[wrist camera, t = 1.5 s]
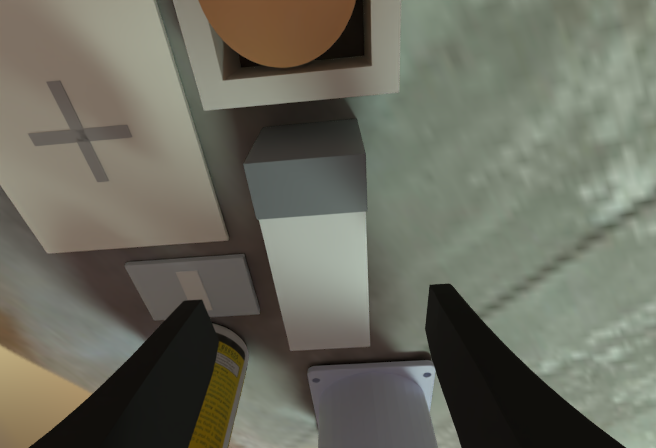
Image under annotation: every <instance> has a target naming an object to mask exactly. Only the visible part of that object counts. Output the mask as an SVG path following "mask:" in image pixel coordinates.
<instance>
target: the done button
mask: <svg viewBox="0 0 656 448" xmlns="http://www.w3.org/2000/svg"><path fill="white" fill-rule="evenodd" d="M198 1H199V3H200V5H201V8H202V10H203V12H204V14H205V16H206V18H207V19H208V21H209V23H210V24H211V26H212V27H213V29H214V30H215V31H216V33H217V34H218V35H219V36H220V37H221V39H222V40H223V41H224V42H225V43H226V44H227V45H229V46H230V47H231V48H232V49H233V50H234V51H236V52H237V53H239V54H240V55H241V56H243V57H245V58H247V59H249V60H251V61H253V62H255V63H258V64H261V65H265V66H269V67H277V68H287V67H294V66H299V65H302V64H305V63H308V62H310V61H312V60H314V59H316V58H317V57H319V56H320V55H322V54H323V53H324V52H326V51H327V50H328V49H329V48H330V47H331V46H332V45H333V44H334V43H335V42H336V40H337V39H338V38H339V37H340V35H341V34H342V32H343V31H344V29H345V27H346V25H347V23H348V21H349V19H350V17H351V14H352V12H353V9H354V6H355V2H356V0H198Z"/></svg>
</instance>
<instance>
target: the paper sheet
mask: <svg viewBox="0 0 656 448" xmlns="http://www.w3.org/2000/svg"><path fill="white" fill-rule="evenodd" d="M0 185H1V187H2V188H3V190H4V191H5V193H6V194H7V196H8V197H9V199H10V200H11V201H12V203H13V204H14V206H15V207H16V209H17V210H18V212H19V213H20V215H21V216H22V217H23V219H24V220H25V222H26V223H27V225H28V226H29V228H30V229H31V231H32V232H33V233H34V235H35V236H36V238H37V239H38V241H39V242H40V244H41V245H42V246H43V248H44V249H45V251H46V252H47V254H50V253H63V252H77V251H91V250H105V249H118V248H132V247H146V246H160V245H173V244H187V243H201V242H215V241H228V240H229V236H228V233H227V229H226V226H225V223H224V220H223V216H222V213H221V210H220V207H219V203H218V200H217V197H216V193H215V190H214V187H213V184H212V180H211V177H210V174H209V171H208V167H207V164H206V161H205V158H204V154H203V151H202V148H201V145H200V141H199V138H198V135H197V132H196V128H195V125H194V122H193V118H192V115H191V112H190V109H189V105H188V102H187V99H186V96H185V92H184V89H183V86H182V83H181V79H180V76H179V73H178V70H177V66H176V63H175V60H174V57H173V53H172V50H171V47H170V44H169V40H168V37H167V34H166V30H165V27H164V24H163V21H162V17H161V14H160V11H159V8H158V4H157V1H156V0H0Z"/></svg>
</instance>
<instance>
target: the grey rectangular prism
mask: <svg viewBox="0 0 656 448" xmlns="http://www.w3.org/2000/svg"><path fill="white" fill-rule="evenodd" d="M243 166H244V170H245V174H246V178H247V182H248V186H249V190H250V195H251V199H252V203H253V207H254V211H255V215H256V219H257V220H259V222H260V226H261V230H262V234H263V238H264V243H265V247H266V251H267V255H268V259H269V264H270V268H271V272H272V276H273V280H274V285H275V289H276V293H277V297H278V301H279V305H280V310H281V314H282V318H283V322H284V326H285V331H286V335H287V339H288V343H289V347H290V351H299V350H317V349H336V348H354V347H370V323H369V294H368V264H367V235H366V211H367V181H366V153H365V149H364V145H363V141H362V137H361V133H360V129H359V125H358V121H357V119H349V120H338V121H327V122H316V123H305V124H294V125H282V126H271V127H263V128H262V130H261V132H260V134H259V136H258V138H257V139H256V141H255V143H254V145H253V147H252V149H251V150H250V152H249V154H248V156H247V158H246V160H245V161H244V163H243Z"/></svg>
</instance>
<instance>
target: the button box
mask: <svg viewBox="0 0 656 448" xmlns="http://www.w3.org/2000/svg"><path fill="white" fill-rule="evenodd" d="M173 3H174V7H175V10H176V14H177V17H178V21H179V24H180V28H181V31H182V35H183V38H184V42H185V45H186V49H187V52H188V56H189V59H190V63H191V66H192V70H193V73H194V77H195V80H196V84H197V87H198V91H199V94H200V98H201V102H202V105H203V109H204V111H207V110H217V109H228V108H239V107H249V106H260V105H271V104H281V103H292V102H303V101H314V100H324V99H335V98H346V97H356V96H367V95H378V94H388V93H399V76H400V33H401V0H363V26H364V56H354V57H344V58H334V59H324V60H314V61H310V62H308V63H305V64H302V65H299V66H294V67H287V68H277V67H269V66H265V65H264V66H254V67H244V68H241V64H240V59H239V54H238V53H237V52H236V51H234V50H233V49H232V48H231V47H230V46H229V45H227V44H226V43H225V42H224V41H223V40H222V39H221V37H220V36H219V35H218V34H217V33H216V31H215V30H214V29H213V27H212V26H211V24H210V23H209V21H208V19H207V18H206V16H205V14H204V12H203V10H202V8H201V5H200V3H199V1H198V0H173Z"/></svg>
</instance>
